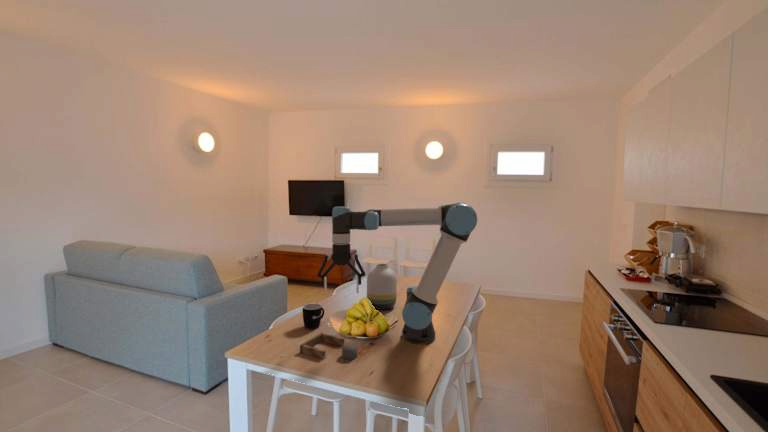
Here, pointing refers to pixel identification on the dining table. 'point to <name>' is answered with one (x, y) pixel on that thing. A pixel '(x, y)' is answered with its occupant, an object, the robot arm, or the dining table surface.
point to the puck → (349, 352)
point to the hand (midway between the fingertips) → (341, 292)
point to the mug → (312, 315)
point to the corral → (308, 345)
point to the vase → (382, 287)
